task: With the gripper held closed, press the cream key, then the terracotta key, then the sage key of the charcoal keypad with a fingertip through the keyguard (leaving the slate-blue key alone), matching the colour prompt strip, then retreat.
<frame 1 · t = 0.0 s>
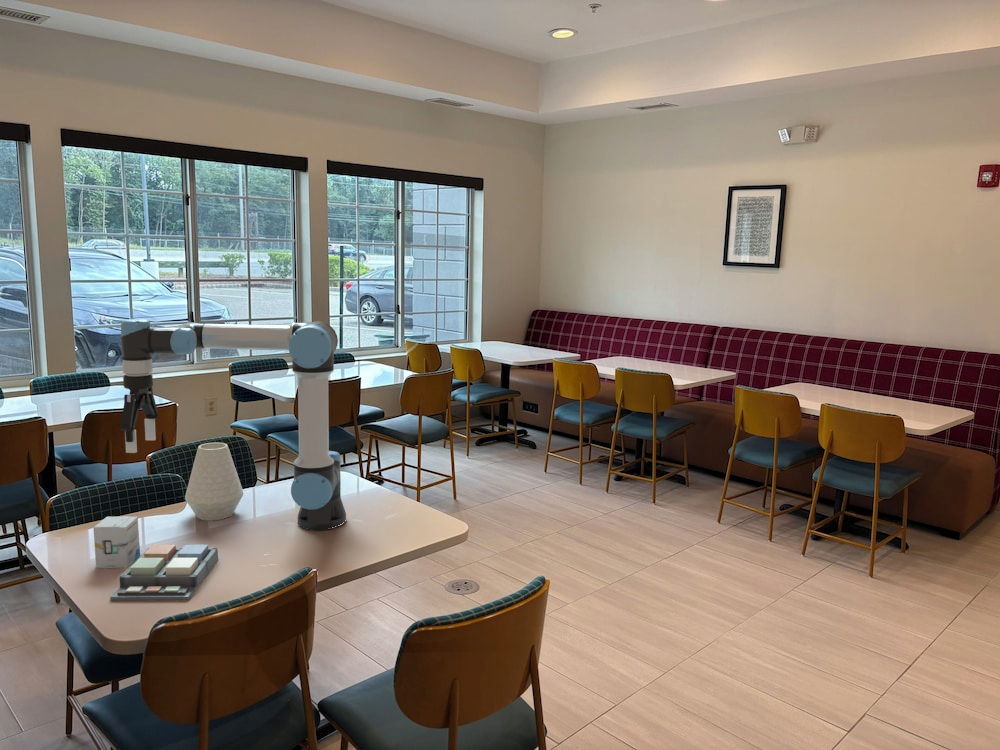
hand: (141, 446, 210), 28 cm above the table, fingers open, 13 cm apart
vase: (215, 515, 235), on the table
key cream: (182, 567, 187), point 4 cm above the table, slide at 0.0 cm
key slate: (193, 553, 195), point 4 cm above the table, slide at 0.0 cm
keypad: (167, 578, 189), on the table
ink box: (118, 562, 198), on the table
key terracotta: (160, 553, 195), point 4 cm above the table, slide at 0.0 cm
key sage: (147, 567, 186), point 4 cm above the table, slide at 0.0 cm
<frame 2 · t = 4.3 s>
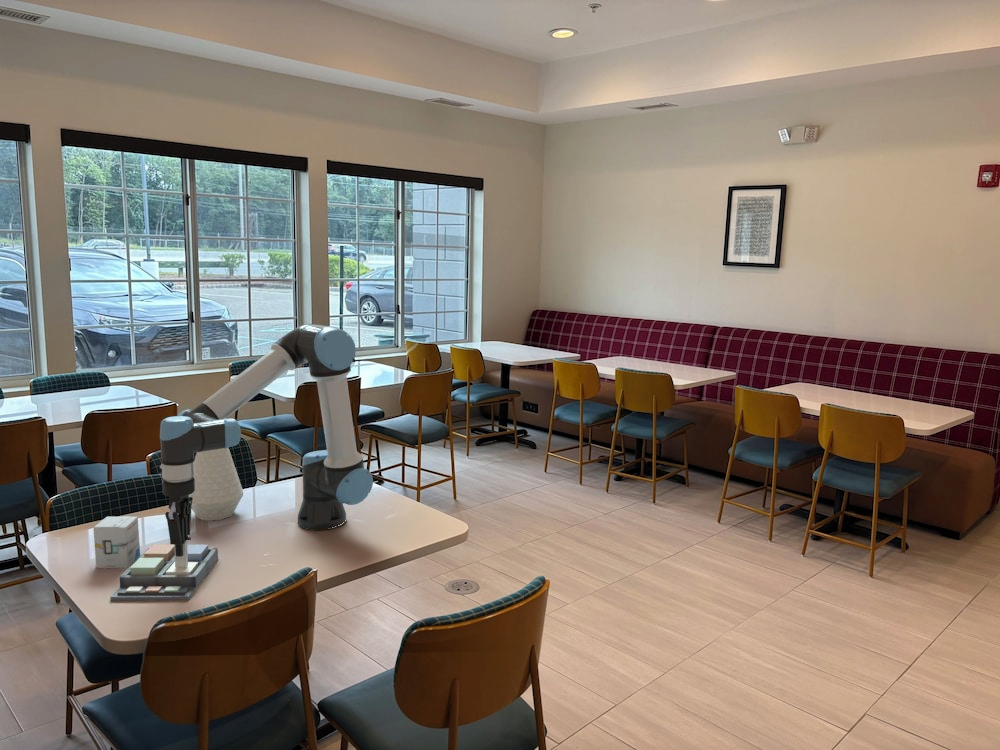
hand: (181, 566, 187), 4 cm above the table, fingers closed
key cream: (182, 571, 187), point 3 cm above the table, slide at 1.2 cm, touching gripper
everything else where it was.
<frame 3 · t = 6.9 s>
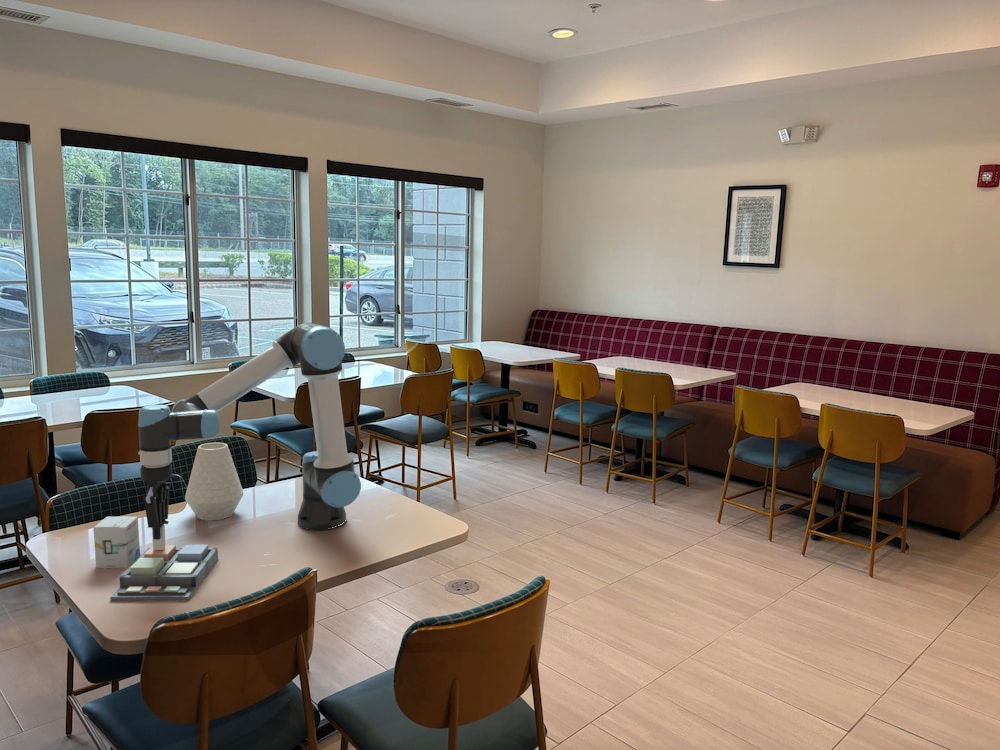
hand: (159, 548, 194), 5 cm above the table, fingers closed
key cream: (182, 572, 187), point 3 cm above the table, slide at 1.4 cm
key terracotta: (160, 554, 195), point 4 cm above the table, slide at 0.2 cm, touching gripper
everything else where it was.
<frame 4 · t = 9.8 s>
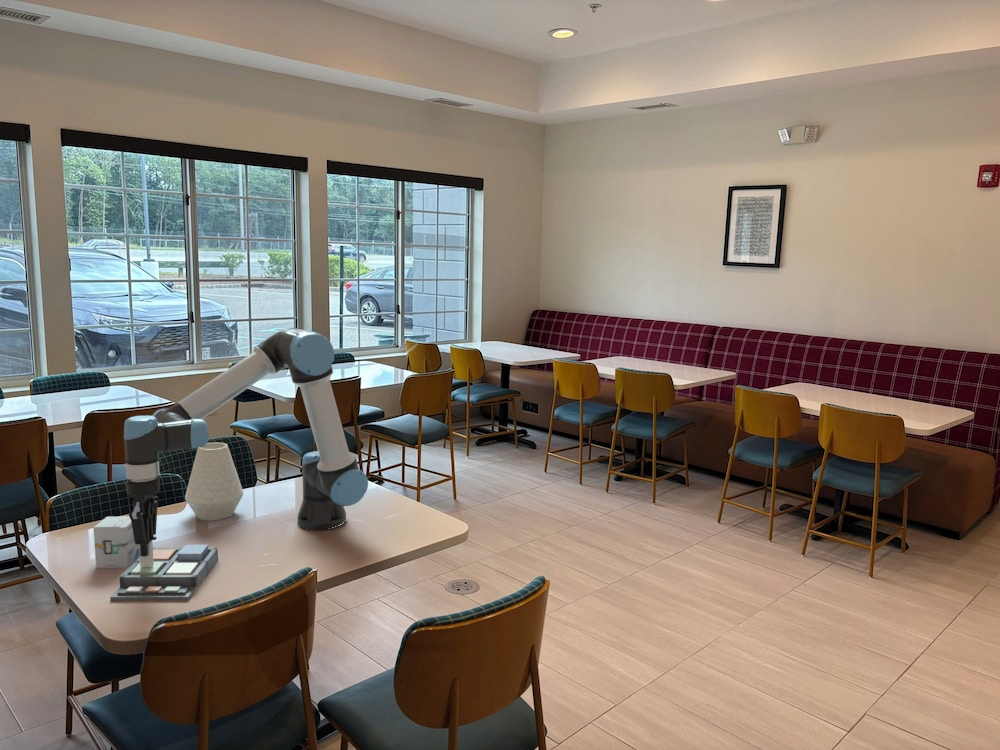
hand: (146, 566, 186), 4 cm above the table, fingers closed
key terracotta: (160, 558, 195), point 3 cm above the table, slide at 1.4 cm
key sage: (147, 571, 186), point 3 cm above the table, slide at 1.2 cm, touching gripper
everything else where it was.
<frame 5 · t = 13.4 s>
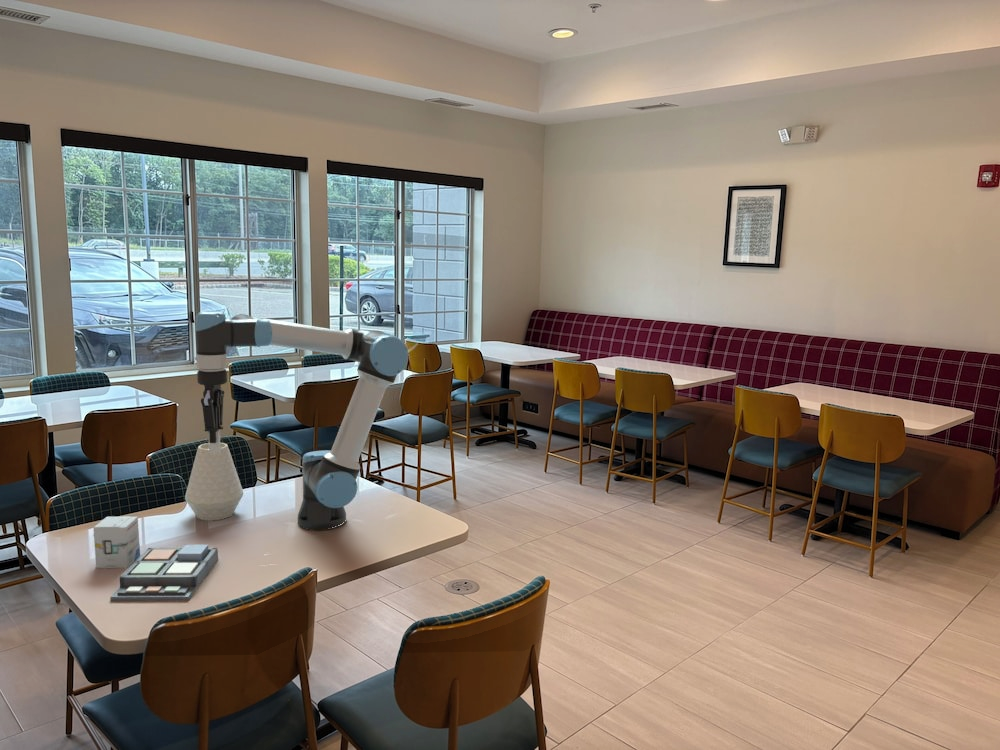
hand: (214, 453, 200), 29 cm above the table, fingers closed
key sage: (147, 572, 186), point 3 cm above the table, slide at 1.4 cm
everything else where it was.
at the end: key cream slide at 1.4 cm; key terracotta slide at 1.4 cm; key sage slide at 1.4 cm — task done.
